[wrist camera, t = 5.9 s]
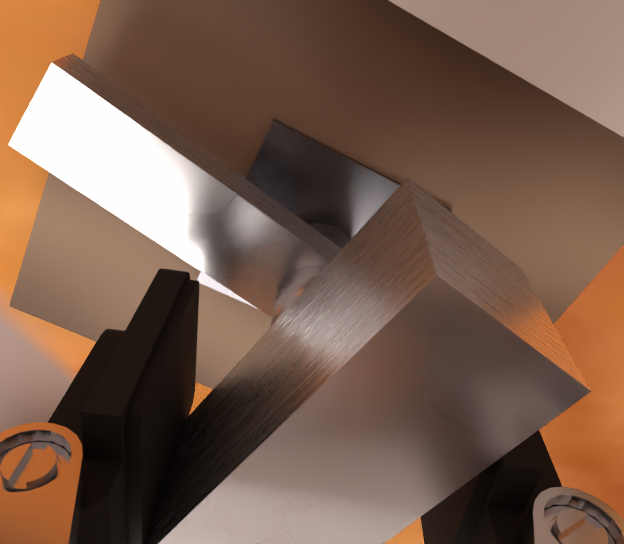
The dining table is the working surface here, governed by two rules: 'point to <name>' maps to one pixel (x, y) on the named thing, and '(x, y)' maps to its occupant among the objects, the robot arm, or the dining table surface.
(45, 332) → the dining table surface
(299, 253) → the latch
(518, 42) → the cover
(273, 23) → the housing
